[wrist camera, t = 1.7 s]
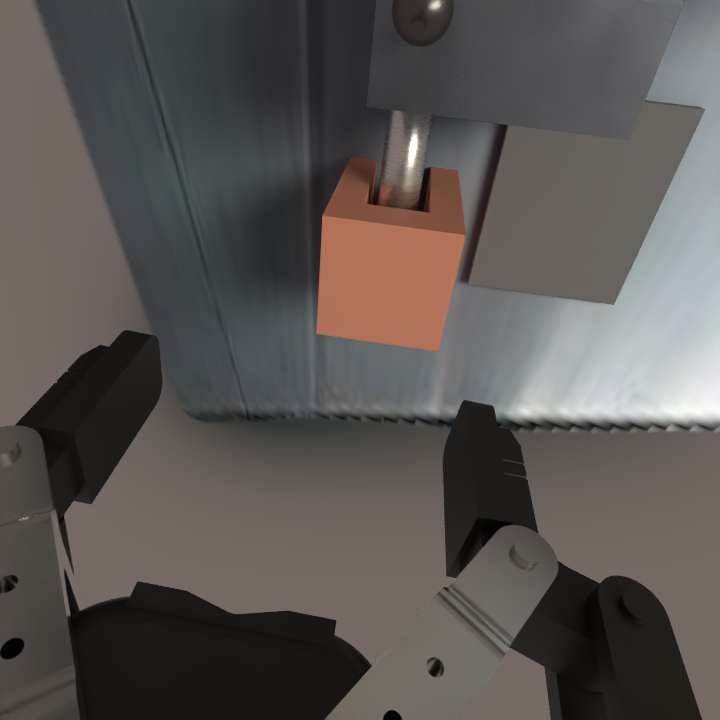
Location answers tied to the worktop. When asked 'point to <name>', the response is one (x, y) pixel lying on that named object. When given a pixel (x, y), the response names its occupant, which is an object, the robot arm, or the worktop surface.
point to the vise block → (509, 71)
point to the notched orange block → (389, 261)
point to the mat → (577, 205)
